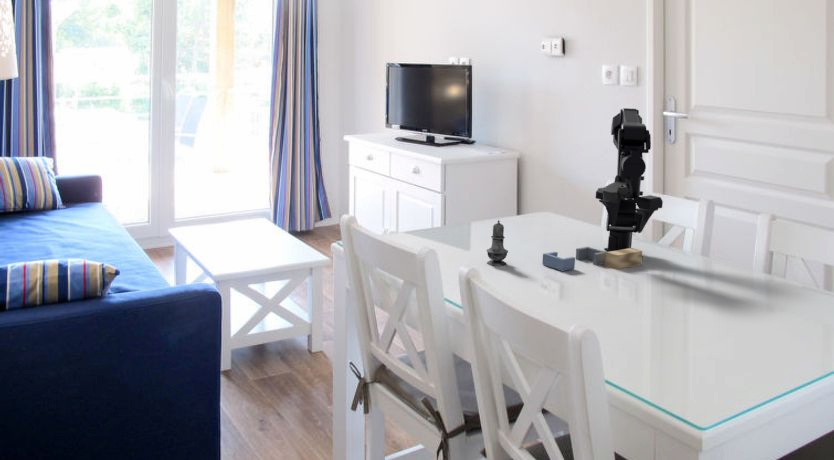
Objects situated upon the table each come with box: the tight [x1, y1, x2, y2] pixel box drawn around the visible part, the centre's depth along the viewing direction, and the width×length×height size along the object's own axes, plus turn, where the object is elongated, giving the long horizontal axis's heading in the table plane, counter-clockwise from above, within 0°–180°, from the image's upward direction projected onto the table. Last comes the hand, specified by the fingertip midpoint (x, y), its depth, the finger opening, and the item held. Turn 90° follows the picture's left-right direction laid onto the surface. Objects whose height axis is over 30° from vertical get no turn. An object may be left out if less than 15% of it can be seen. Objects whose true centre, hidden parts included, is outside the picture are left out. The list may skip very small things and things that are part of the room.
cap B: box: [541, 251, 576, 271], centre depth 236 cm, size 4×8×3 cm, turn 36°
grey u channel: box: [575, 246, 607, 266], centre depth 244 cm, size 4×8×3 cm, turn 36°
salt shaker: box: [486, 220, 509, 267], centre depth 238 cm, size 6×6×12 cm
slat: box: [604, 247, 643, 270], centre depth 241 cm, size 10×4×4 cm, turn 125°
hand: (625, 229), depth 239 cm, fingers open, 9 cm apart
